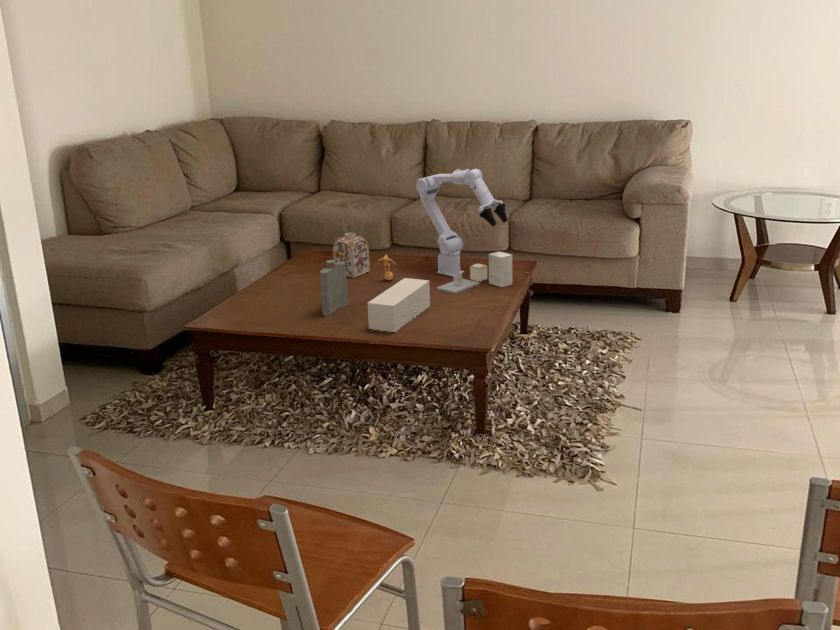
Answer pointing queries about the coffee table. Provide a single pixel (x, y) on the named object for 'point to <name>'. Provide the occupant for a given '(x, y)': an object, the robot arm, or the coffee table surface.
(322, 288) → the hip flask
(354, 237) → the decorative jar
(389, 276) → the figurine
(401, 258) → the coffee table surface
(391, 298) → the long white block
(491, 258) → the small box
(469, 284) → the base board
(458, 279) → the post
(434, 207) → the robot arm
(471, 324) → the coffee table surface
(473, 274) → the beige cardboard cube
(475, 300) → the coffee table surface
